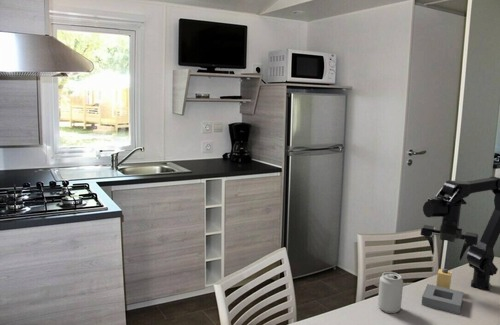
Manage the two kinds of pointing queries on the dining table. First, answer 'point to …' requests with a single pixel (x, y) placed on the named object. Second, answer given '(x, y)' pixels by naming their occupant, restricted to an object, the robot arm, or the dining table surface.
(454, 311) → the socket
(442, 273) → the plug
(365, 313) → the dining table surface
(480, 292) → the dining table surface
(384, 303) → the can
